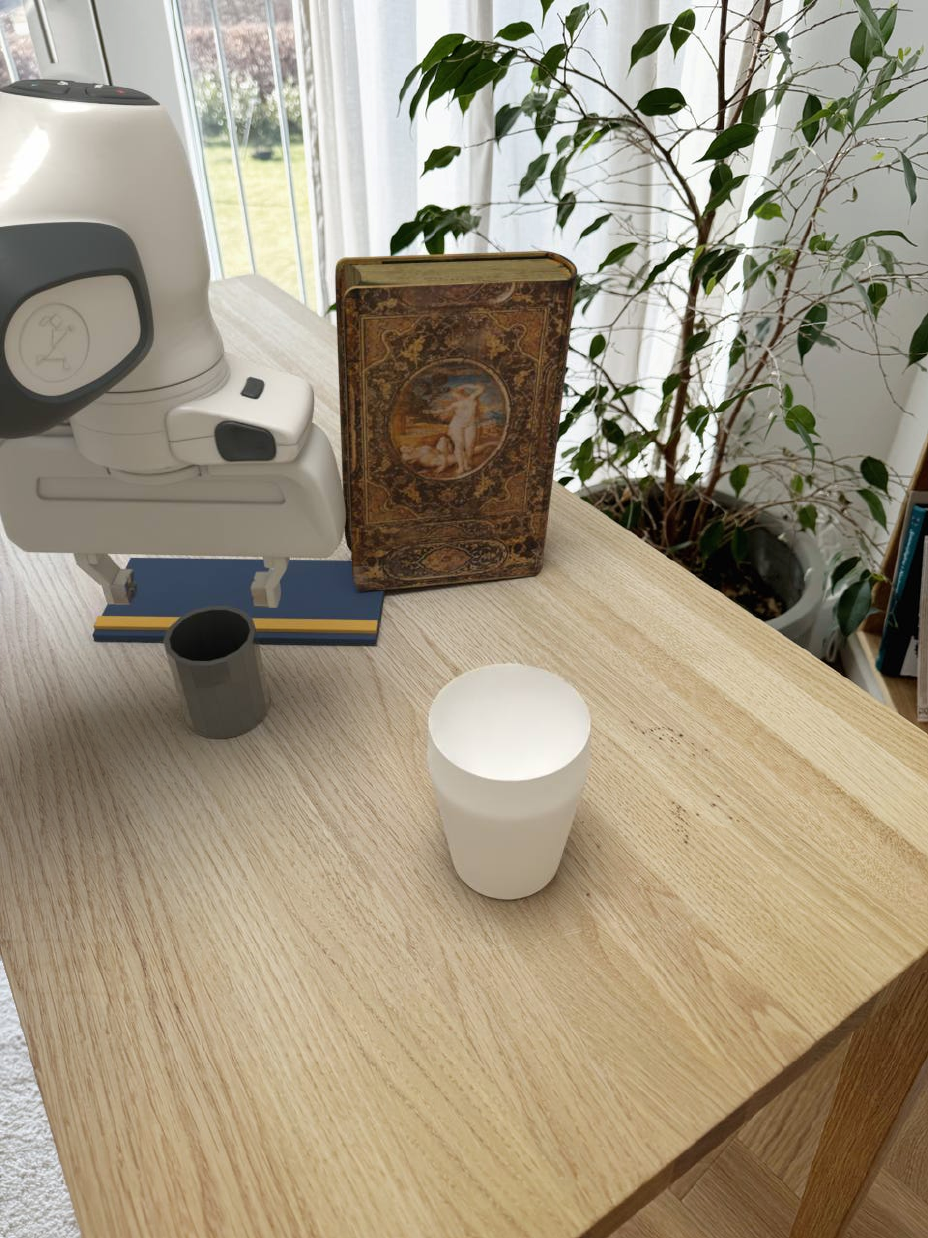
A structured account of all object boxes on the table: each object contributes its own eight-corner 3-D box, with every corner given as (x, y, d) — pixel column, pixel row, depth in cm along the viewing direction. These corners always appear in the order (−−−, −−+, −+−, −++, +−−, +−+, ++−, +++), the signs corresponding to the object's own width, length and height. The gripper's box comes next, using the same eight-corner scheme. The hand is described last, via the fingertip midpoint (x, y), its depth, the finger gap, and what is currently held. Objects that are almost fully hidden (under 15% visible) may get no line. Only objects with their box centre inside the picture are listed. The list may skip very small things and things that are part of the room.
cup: (469, 942, 55) (467, 807, 47) (410, 825, 61) (400, 689, 54) (606, 885, 58) (626, 749, 50) (537, 779, 64) (544, 643, 56)
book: (532, 536, 85) (563, 249, 69) (549, 574, 81) (586, 279, 65) (345, 553, 82) (332, 257, 66) (353, 593, 78) (341, 288, 62)
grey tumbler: (175, 738, 67) (153, 664, 63) (196, 678, 72) (177, 605, 67) (260, 739, 67) (244, 665, 63) (276, 679, 72) (263, 606, 67)
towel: (94, 641, 75) (90, 630, 75) (132, 563, 83) (129, 553, 82) (376, 646, 75) (375, 635, 74) (388, 567, 82) (388, 556, 81)
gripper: (-58, 429, 52) (17, 628, 61) (323, 436, 51) (344, 635, 60) (-10, 377, 57) (54, 568, 65) (339, 382, 56) (356, 574, 65)
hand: (195, 600), depth 63 cm, fingers open, 8 cm apart
